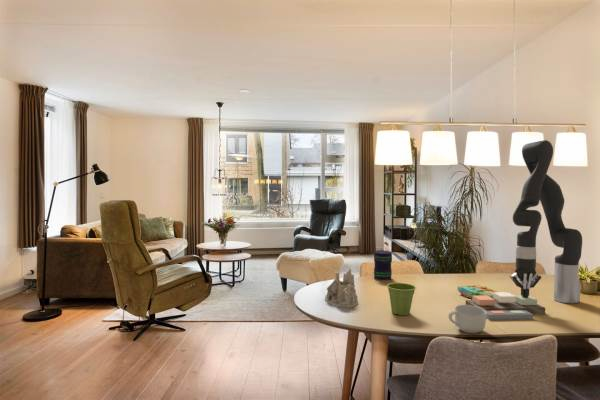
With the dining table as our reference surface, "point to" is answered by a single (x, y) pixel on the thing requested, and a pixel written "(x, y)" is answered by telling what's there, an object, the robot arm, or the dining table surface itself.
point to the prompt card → (508, 315)
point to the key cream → (504, 297)
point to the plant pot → (401, 297)
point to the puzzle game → (476, 291)
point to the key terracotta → (483, 300)
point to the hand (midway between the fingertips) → (524, 297)
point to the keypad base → (509, 307)
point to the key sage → (526, 300)
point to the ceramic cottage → (342, 291)
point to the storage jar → (382, 265)
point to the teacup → (469, 318)
